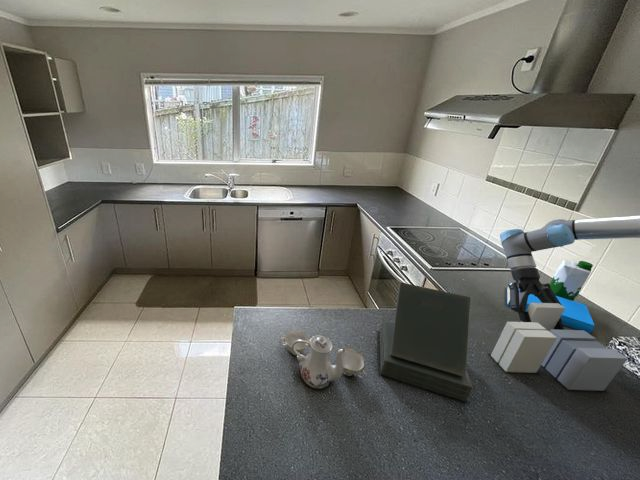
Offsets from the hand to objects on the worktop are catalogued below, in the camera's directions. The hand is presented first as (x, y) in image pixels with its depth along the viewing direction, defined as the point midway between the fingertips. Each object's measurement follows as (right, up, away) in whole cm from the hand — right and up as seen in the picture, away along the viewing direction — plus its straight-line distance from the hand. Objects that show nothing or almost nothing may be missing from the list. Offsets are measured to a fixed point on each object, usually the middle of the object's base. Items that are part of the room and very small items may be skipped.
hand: (545, 331), depth 98 cm
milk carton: (+37, +3, +30) cm, 48 cm away
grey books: (0, -11, -7) cm, 13 cm away
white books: (-15, -9, -4) cm, 18 cm away
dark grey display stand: (-48, -9, -5) cm, 49 cm away
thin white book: (0, -4, +5) cm, 7 cm away
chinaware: (-82, -9, -9) cm, 83 cm away
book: (+23, +1, +23) cm, 33 cm away
